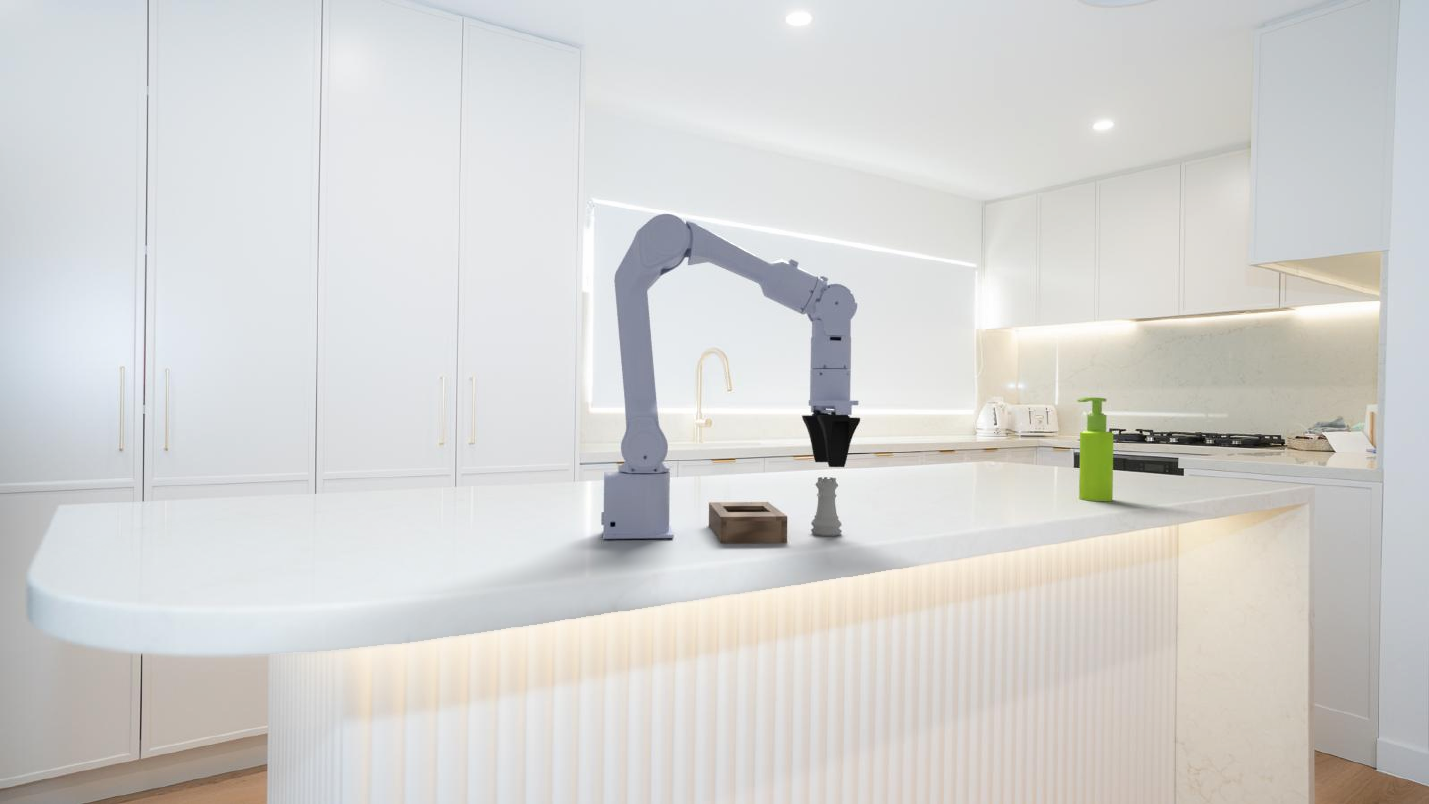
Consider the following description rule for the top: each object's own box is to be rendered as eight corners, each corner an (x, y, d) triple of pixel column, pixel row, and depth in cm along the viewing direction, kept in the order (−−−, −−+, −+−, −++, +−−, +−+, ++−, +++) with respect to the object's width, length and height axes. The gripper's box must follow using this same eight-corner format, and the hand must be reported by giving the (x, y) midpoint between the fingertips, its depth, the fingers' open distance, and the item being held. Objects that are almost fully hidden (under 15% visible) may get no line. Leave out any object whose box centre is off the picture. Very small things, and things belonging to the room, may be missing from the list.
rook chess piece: (841, 537, 108) (842, 480, 108) (809, 536, 109) (809, 479, 109) (842, 532, 112) (843, 477, 112) (811, 530, 113) (812, 476, 113)
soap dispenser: (1068, 497, 154) (1069, 397, 153) (1096, 496, 156) (1097, 397, 156) (1090, 501, 148) (1092, 397, 148) (1119, 500, 150) (1120, 397, 150)
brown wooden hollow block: (720, 543, 103) (720, 516, 103) (708, 525, 117) (708, 502, 117) (787, 542, 104) (787, 516, 104) (767, 524, 118) (767, 501, 118)
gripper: (874, 368, 104) (872, 469, 104) (843, 371, 118) (841, 460, 118) (822, 367, 103) (821, 469, 103) (797, 370, 117) (796, 460, 118)
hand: (829, 464), depth 111 cm, fingers open, 7 cm apart
